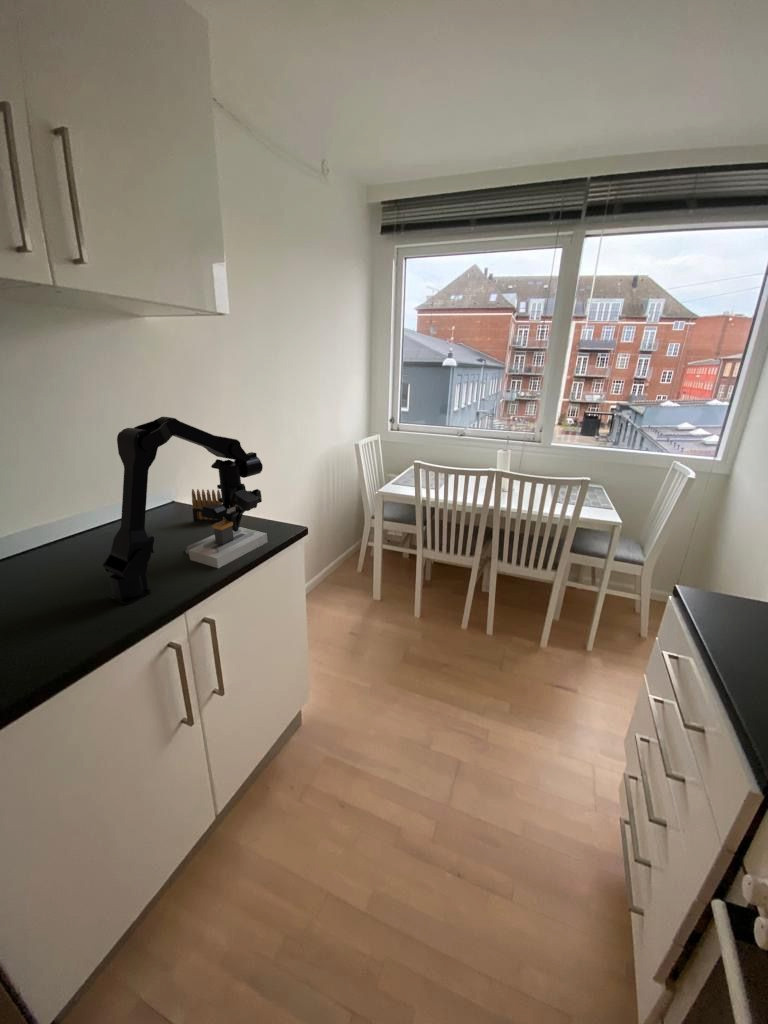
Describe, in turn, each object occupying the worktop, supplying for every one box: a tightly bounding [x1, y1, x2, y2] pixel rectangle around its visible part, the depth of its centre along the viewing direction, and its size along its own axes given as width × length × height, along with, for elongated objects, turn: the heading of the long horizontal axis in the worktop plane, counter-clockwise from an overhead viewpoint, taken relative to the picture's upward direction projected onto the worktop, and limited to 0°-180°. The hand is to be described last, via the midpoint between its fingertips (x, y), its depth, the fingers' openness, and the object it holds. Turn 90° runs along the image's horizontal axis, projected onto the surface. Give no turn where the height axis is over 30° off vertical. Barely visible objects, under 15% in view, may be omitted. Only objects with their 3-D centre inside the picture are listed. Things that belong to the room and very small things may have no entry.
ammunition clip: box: [191, 488, 226, 524], centre depth 145 cm, size 11×2×12 cm, turn 88°
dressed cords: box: [184, 534, 215, 555], centre depth 130 cm, size 17×3×1 cm, turn 154°
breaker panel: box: [188, 526, 268, 569], centre depth 125 cm, size 20×11×4 cm, turn 154°
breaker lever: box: [212, 519, 234, 546], centre depth 122 cm, size 4×3×6 cm
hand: (235, 531), depth 126 cm, fingers closed
